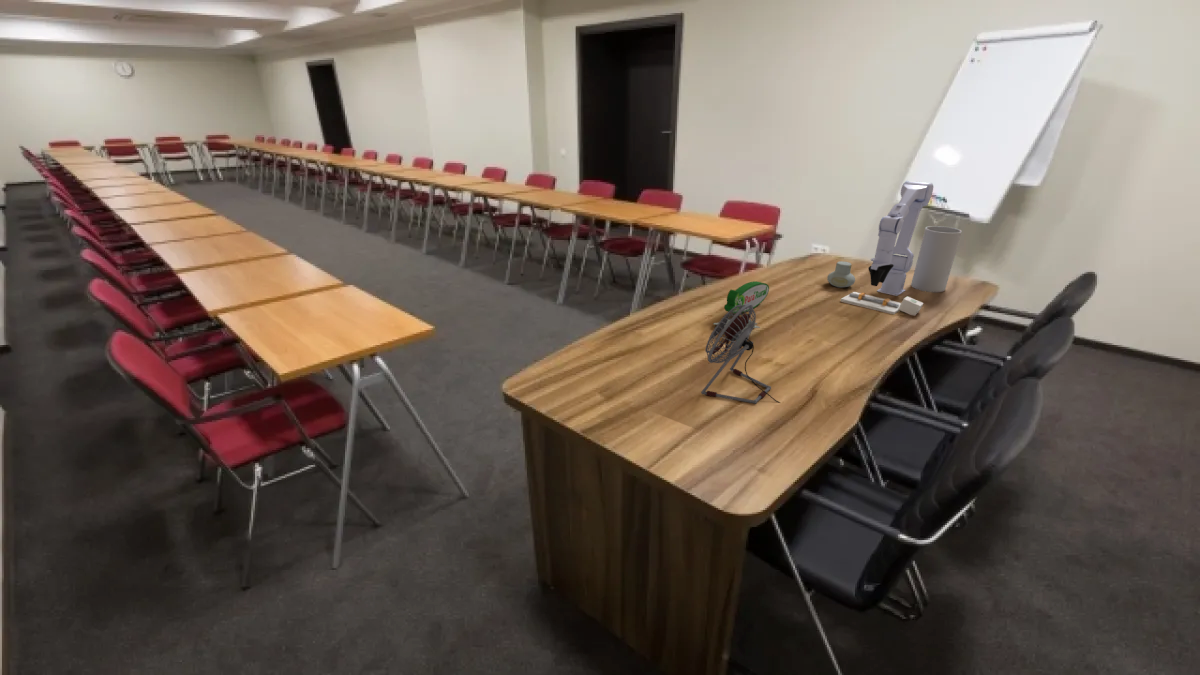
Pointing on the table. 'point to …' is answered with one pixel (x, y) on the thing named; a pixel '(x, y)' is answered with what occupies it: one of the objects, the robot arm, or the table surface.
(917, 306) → the block
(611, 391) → the table surface
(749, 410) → the table surface
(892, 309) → the rail board
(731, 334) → the desk fan
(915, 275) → the cylinder vase
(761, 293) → the sign
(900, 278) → the robot arm
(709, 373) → the table surface
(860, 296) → the din rail
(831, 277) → the air freshener
